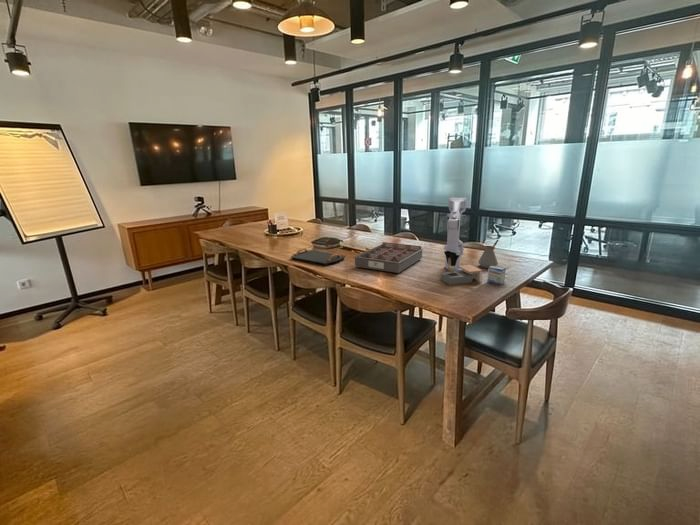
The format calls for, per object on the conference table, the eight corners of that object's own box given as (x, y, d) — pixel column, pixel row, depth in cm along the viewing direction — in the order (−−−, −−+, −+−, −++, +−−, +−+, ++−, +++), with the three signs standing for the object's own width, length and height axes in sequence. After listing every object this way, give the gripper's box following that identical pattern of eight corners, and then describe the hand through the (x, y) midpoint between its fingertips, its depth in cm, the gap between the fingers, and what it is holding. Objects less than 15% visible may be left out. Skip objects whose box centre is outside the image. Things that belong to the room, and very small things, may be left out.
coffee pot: (493, 270, 215) (495, 246, 211) (475, 267, 223) (476, 244, 218) (505, 262, 230) (507, 240, 226) (488, 259, 238) (489, 238, 234)
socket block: (440, 279, 201) (440, 272, 200) (462, 277, 205) (462, 270, 204) (449, 285, 192) (449, 278, 191) (472, 282, 195) (472, 275, 194)
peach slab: (456, 277, 205) (457, 265, 203) (469, 275, 207) (470, 264, 205) (468, 283, 194) (469, 271, 192) (481, 281, 196) (482, 270, 194)
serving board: (349, 260, 249) (349, 251, 247) (328, 268, 231) (327, 259, 229) (308, 253, 271) (308, 245, 269) (287, 260, 253) (286, 251, 252)
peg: (446, 271, 199) (447, 257, 197) (452, 270, 200) (453, 256, 197) (449, 272, 195) (450, 259, 193) (455, 272, 196) (456, 258, 194)
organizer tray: (353, 268, 227) (353, 253, 225) (382, 254, 260) (382, 241, 257) (399, 275, 211) (399, 259, 208) (423, 259, 243) (423, 245, 240)
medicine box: (486, 281, 196) (488, 266, 193) (490, 279, 199) (491, 265, 196) (501, 285, 190) (502, 269, 188) (504, 282, 193) (506, 267, 191)
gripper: (439, 238, 198) (438, 262, 202) (452, 244, 185) (451, 268, 189) (450, 237, 200) (449, 260, 204) (464, 243, 186) (463, 267, 190)
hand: (451, 264), depth 196 cm, fingers closed on peg, 3 cm apart
